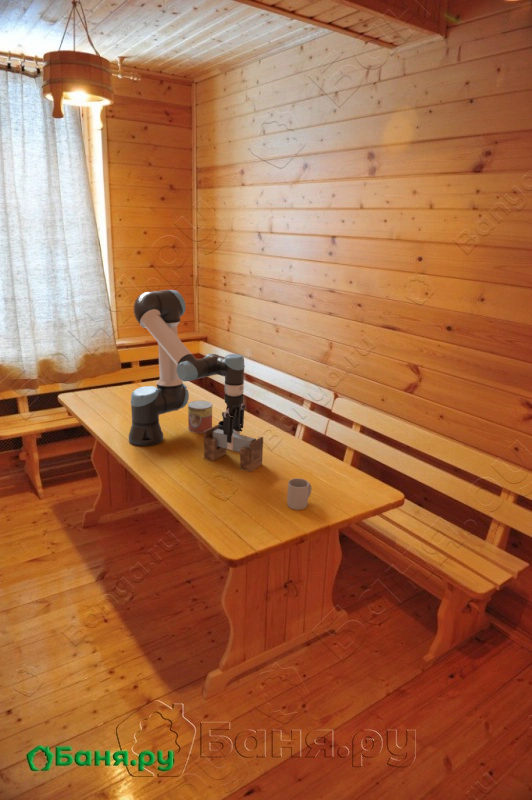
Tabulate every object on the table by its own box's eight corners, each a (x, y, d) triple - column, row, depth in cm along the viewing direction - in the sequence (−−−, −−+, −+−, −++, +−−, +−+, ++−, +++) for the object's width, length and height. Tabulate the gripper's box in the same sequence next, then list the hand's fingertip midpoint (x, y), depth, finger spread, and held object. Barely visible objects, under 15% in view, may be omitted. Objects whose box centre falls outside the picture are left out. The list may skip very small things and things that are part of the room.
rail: (212, 444, 238) (212, 431, 236) (217, 442, 241) (217, 428, 239) (250, 455, 228) (251, 441, 227) (255, 452, 231) (255, 438, 229)
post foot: (239, 468, 230) (240, 441, 226) (251, 461, 237) (252, 434, 233) (250, 472, 227) (251, 444, 223) (262, 464, 235) (263, 437, 231)
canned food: (183, 430, 266) (183, 406, 263) (195, 422, 276) (195, 399, 273) (205, 434, 263) (205, 410, 259) (216, 426, 273) (216, 402, 269)
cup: (282, 504, 204) (284, 482, 201) (302, 496, 210) (304, 474, 207) (296, 512, 198) (298, 489, 196) (317, 504, 205) (318, 481, 202)
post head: (204, 457, 238) (204, 431, 234) (216, 450, 246) (216, 424, 242) (213, 460, 236) (213, 434, 232) (226, 453, 243) (226, 427, 239)
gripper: (230, 400, 218) (229, 456, 226) (253, 390, 232) (251, 443, 239) (214, 396, 222) (213, 452, 230) (237, 386, 236) (236, 439, 243)
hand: (233, 447), depth 234 cm, fingers closed on rail, 3 cm apart
